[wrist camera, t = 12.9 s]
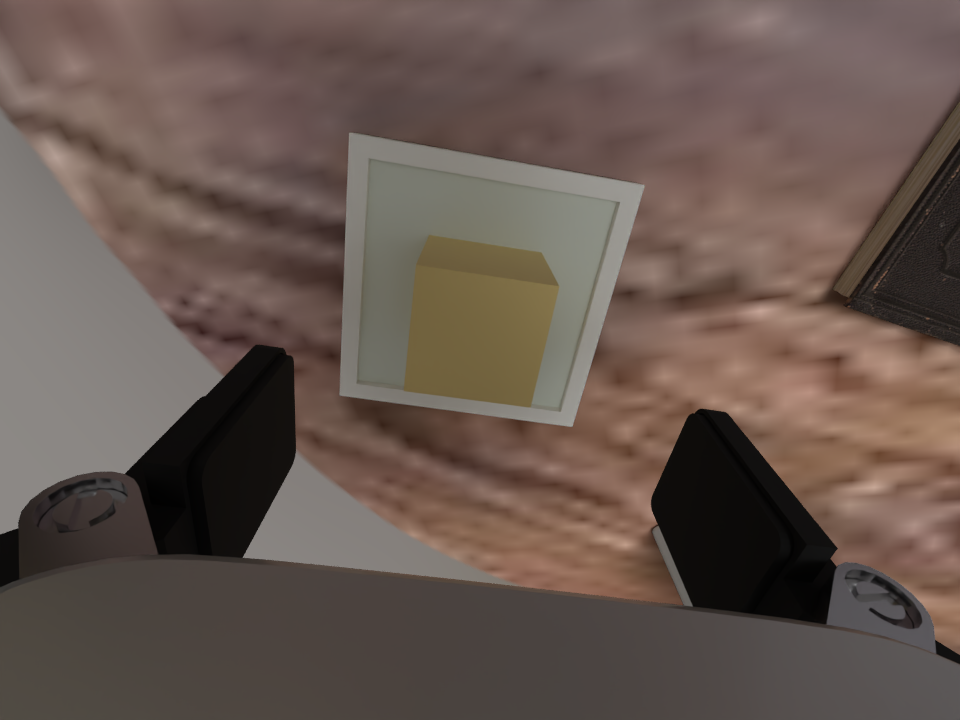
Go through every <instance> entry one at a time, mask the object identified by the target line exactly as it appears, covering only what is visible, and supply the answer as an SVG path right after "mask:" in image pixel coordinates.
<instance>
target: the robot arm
mask: <svg viewBox="0 0 960 720" xmlns="http://www.w3.org/2000/svg"><path fill="white" fill-rule="evenodd" d="M295 453H296V435H295V395H294V361H293V357H292V356H289V355H286V352H285V350H284V349H283V348H278V347H271V346H264V345H255V346H254V347H253V348H252V349H251V350H250V351H249V352H248V353H247V354H246V355H245V356H244V357H243V358H242V359H241V360H240V361H239V362H238V363H237V364H236V365H235V366H234V368H233V369H232V370H231V371H230V372H229V373H228V374H227V375H226V376H225V377H224V378H223V379H222V380H221V381H220V382H219V383H218V384H217V385H216V386H215V387H214V388H213V389H212V390H211V391H210V392H209V393H208V394H207V395H206V396H204V397H202V398H200V399H199V400H197V402H195V404H193V405H192V407H191V408H189V410H188V411H187V412H186V413H185V414H184V415H183V416H182V417H181V418H180V419H179V420H178V421H177V422H176V423H175V424H174V425H173V426H172V427H171V428H170V429H169V430H168V431H167V432H166V433H165V434H164V435H163V436H162V437H161V438H160V439H159V440H158V441H157V442H156V443H155V444H154V445H153V446H152V447H151V448H150V449H149V450H148V451H147V452H146V453H145V454H144V455H143V456H142V457H141V458H140V459H139V460H138V461H137V462H136V463H135V464H134V465H133V466H132V467H131V468H130V469H129V470H128V471H127V472H126V473H125V474H121V473H116V472H93V473H88V474H82V475H77V476H75V477H72V478H69V479H66V480H63V481H60V482H58V483H56V484H54V485H52V486H51V487H49V488H47V489H45V490H43V491H42V492H41V493H39V494H38V495H37V496H35V497H34V498H33V499H31V500H30V501H29V503H28V504H27V505H26V506H25V508H24V509H23V510H22V512H21V515H20V518H19V522H18V529H15V530H12V531H9V532H6V533H4V534H0V720H960V655H959V654H957V653H955V652H954V651H952V650H951V649H949V648H947V647H946V646H944V645H942V644H941V643H939V642H938V641H936V640H935V635H934V626H933V623H932V620H931V617H930V615H929V613H928V612H927V611H926V609H925V608H924V606H923V605H922V604H921V603H920V602H919V601H918V600H917V598H916V597H915V596H914V595H913V594H912V593H911V592H909V591H908V590H907V589H906V588H904V587H903V586H902V585H901V584H899V583H898V582H897V581H895V580H893V579H892V578H890V577H888V576H887V575H885V574H884V573H882V572H880V571H877V570H875V569H873V568H871V567H869V566H865V565H862V564H858V563H848V562H845V563H843V564H840V565H838V566H837V567H836V565H835V564H834V563H833V562H832V560H831V559H830V558H831V557H832V555H833V554H834V553H835V551H836V550H837V549H838V548H837V547H836V546H835V545H834V543H833V542H832V541H831V540H830V539H829V537H828V536H827V535H826V534H825V532H824V531H823V530H822V529H821V527H820V526H819V525H818V524H817V523H816V521H815V520H814V519H813V518H812V516H811V515H810V514H809V513H808V512H807V510H806V509H805V508H804V507H803V505H802V504H801V503H800V502H799V500H798V499H797V498H796V497H795V496H794V494H793V493H792V492H791V491H790V489H789V488H788V487H787V486H786V485H785V483H784V482H783V481H782V480H781V478H780V477H779V476H778V475H777V473H776V472H775V471H774V470H773V469H772V467H771V466H770V465H769V464H768V462H767V461H766V460H765V459H764V458H763V456H762V455H761V454H760V453H759V451H758V450H757V449H756V448H755V446H754V445H753V444H752V443H751V442H750V440H749V439H748V438H747V437H746V435H745V434H744V433H743V432H742V431H741V429H740V428H739V427H738V426H737V424H736V423H735V422H734V421H733V419H732V418H731V417H730V416H729V415H728V414H727V413H726V412H721V411H714V410H707V409H699V410H698V411H696V413H695V414H690V415H689V416H688V418H687V420H686V422H685V424H684V426H683V428H682V431H681V433H680V435H679V437H678V440H677V442H676V444H675V446H674V449H673V451H672V453H671V455H670V458H669V460H668V462H667V464H666V466H665V469H664V471H663V473H662V475H661V478H660V480H659V482H658V484H657V487H656V489H655V491H654V493H653V496H652V500H651V507H652V512H653V514H654V516H655V519H656V521H657V523H658V526H659V528H660V531H661V533H662V535H663V538H664V540H665V542H666V545H667V547H668V549H669V552H670V554H671V556H672V559H673V561H674V563H675V566H676V568H677V570H678V573H679V575H680V577H681V580H682V582H683V584H684V587H685V589H686V592H687V594H688V596H689V599H690V601H691V603H692V606H693V607H692V606H683V605H675V604H666V603H658V602H649V601H641V600H633V599H624V598H616V597H607V596H598V595H590V594H581V593H572V592H563V591H554V590H546V589H537V588H528V587H519V586H510V585H501V584H492V583H483V582H473V581H465V580H456V579H447V578H437V577H428V576H419V575H409V574H400V573H390V572H380V571H372V570H362V569H353V568H344V567H334V566H324V565H314V564H303V563H294V562H284V561H274V560H263V559H250V558H243V556H244V554H245V552H246V550H247V548H248V547H249V545H250V543H251V541H252V539H253V537H254V535H255V534H256V532H257V530H258V528H259V526H260V524H261V522H262V521H263V519H264V517H265V515H266V513H267V511H268V509H269V508H270V506H271V504H272V502H273V500H274V498H275V496H276V495H277V493H278V491H279V489H280V487H281V485H282V483H283V482H284V480H285V478H286V476H287V474H288V472H289V470H290V469H291V467H292V464H293V462H294V458H295Z"/></svg>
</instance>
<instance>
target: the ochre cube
mask: <svg viewBox="0 0 960 720" xmlns="http://www.w3.org/2000/svg"><path fill="white" fill-rule="evenodd" d="M559 287H560V286H559V284H558V283H557V281H556V279H555V277H554V275H553V273H552V271H551V269H550V267H549V265H548V264H547V262H546V260H545V258H544V256H543V254H542V252H536V251H529V250H523V249H516V248H510V247H504V246H497V245H491V244H484V243H478V242H472V241H465V240H459V239H452V238H446V237H439V236H433V235H429V236H428V239H427V241H426V243H425V245H424V248H423V250H422V252H421V254H420V257H419V259H418V261H417V263H416V268H415V279H414V289H413V299H412V310H411V320H410V330H409V340H408V351H407V361H406V371H405V382H404V391H406V392H414V393H422V394H429V395H437V396H445V397H452V398H460V399H468V400H475V401H483V402H491V403H498V404H506V405H514V406H521V407H529V408H531V404H532V400H533V395H534V391H535V387H536V383H537V379H538V375H539V370H540V366H541V362H542V358H543V354H544V349H545V345H546V341H547V337H548V333H549V328H550V324H551V320H552V316H553V312H554V308H555V303H556V299H557V295H558V291H559Z"/></svg>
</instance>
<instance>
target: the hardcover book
mask: <svg viewBox="0 0 960 720" xmlns="http://www.w3.org/2000/svg"><path fill="white" fill-rule="evenodd" d="M832 290H835V291H837V292H838V293H840V294H841V295H843V296H846V297H849V298H848V299H847V301H846V302H845V304H844V306H846V307H848V308H851V309H854V310H857V311H860V312H863V313H865V314H868V315H871V316H874V317H877V318H880V319H883V320H886V321H889V322H892V323H895V324H898V325H901V326H903V327H906V328H909V329H912V330H915V331H918V332H921V333H924V334H927V335H930V336H933V337H936V338H938V339H941V340H944V341H947V342H950V343H953V344H956V345H959V346H960V101H959V103H958V104H957V106H956V107H955V109H954V110H953V112H952V113H951V115H950V116H949V118H948V119H947V121H946V122H945V124H944V125H943V127H942V128H941V130H940V131H939V132H938V134H937V135H936V137H935V138H934V140H933V141H932V143H931V144H930V146H929V147H928V149H927V150H926V152H925V153H924V155H923V156H922V158H921V159H920V161H919V162H918V163H917V165H916V166H915V168H914V169H913V171H912V172H911V174H910V175H909V177H908V178H907V180H906V181H905V183H904V184H903V186H902V187H901V189H900V190H899V192H898V193H897V195H896V196H895V197H894V199H893V200H892V202H891V203H890V205H889V206H888V208H887V209H886V211H885V212H884V214H883V215H882V217H881V218H880V220H879V221H878V223H877V224H876V226H875V227H874V229H873V230H872V231H871V233H870V234H869V236H868V237H867V239H866V240H865V242H864V243H863V245H862V246H861V248H860V249H859V251H858V252H857V254H856V255H855V257H854V258H853V260H852V261H851V263H850V264H849V265H848V267H847V268H846V270H845V271H844V273H843V274H842V276H841V277H840V279H839V280H838V282H837V283H836V285H835V286H834V288H833V289H832Z"/></svg>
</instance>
